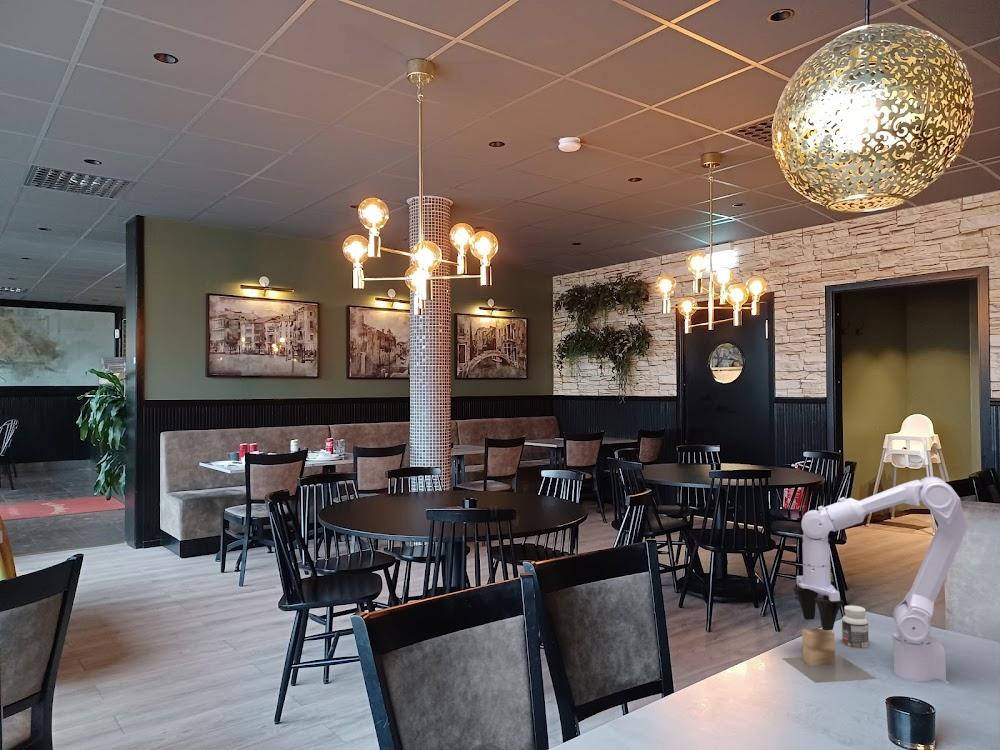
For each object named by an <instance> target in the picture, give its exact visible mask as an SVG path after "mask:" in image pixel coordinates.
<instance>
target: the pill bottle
mask: <svg viewBox="0 0 1000 750" xmlns="http://www.w3.org/2000/svg"><path fill="white" fill-rule="evenodd" d="M843 612H844V615H843V616H842V619H841V630H842V637H841V638H842V639H841V640H842V645H843V646H846V647H849V648H854V649H867V648H868V647H869V645H870V643H869V621H868V619H867V618H866V614H867V613H866V608H865V607H863V606H859V605H845V606H844V608H843Z"/></svg>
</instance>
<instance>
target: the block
mask: <svg viewBox="0 0 1000 750" xmlns="http://www.w3.org/2000/svg"><path fill="white" fill-rule="evenodd" d="M801 632H802V633H801V635H802V638H801V639H802V657H803V661H804V662H806V663H807V664H809V665H826V664H835V655H836V642H835V640H836V639H835V638H836V637H835V632H834V631H833V630H823V629H822V628H810V629H809V628H808V629H802V630H801Z"/></svg>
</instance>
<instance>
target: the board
mask: <svg viewBox="0 0 1000 750" xmlns="http://www.w3.org/2000/svg"><path fill="white" fill-rule="evenodd" d="M781 659H782V660H784V661H785V662H786V663H787V664H789V665H790V666H792V667H793V668H795V669H796V670H797V671H798V672H800V673H801V674H803V676H805V677H807V678H808V679H810V680H811V681H812V682H813V683H815V684H818V683H819V684H820V683H832V682H833V683H834V682H835V683H836V682H849V681H852V682H853V681H867V680H877V679H878V678H877V677H876V676H874V675H872V674H870V673H869V672H867V671H865V670H864V669H862V668H860V666H857V665H856V664H854V663H853V662H851V661H850V660H848V659H847V658H845V657H843V656H841V654H835V664H826V665H809V664H807V663H806V662H804V661H803V656H801V657H800V656H799V657H798V656H797V657H783V658H781Z"/></svg>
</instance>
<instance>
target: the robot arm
mask: <svg viewBox="0 0 1000 750" xmlns="http://www.w3.org/2000/svg"><path fill="white" fill-rule="evenodd" d="M920 502H922V503H923V504H924V506H925V507H926V508H927V509H928V510H929V511H931V512H930V513H931V514H932V516H933V517H934V519H935V522H936V523H937V527H936V530H935V533H934V535H933V537H932V539H931V541H930V544H929V546H928V548H927V551H926V553H925V555H924V558H923V560H922V561H921V565H920V567H919V570H918V572H917V575H916V576H915V579H914V581H913V582H912V585H911V587H910V590H909V591H908V592H907V593H906V595H905V596H904V598H903V600H902V601H901V602H900V603H898V604H897V605H895V607H894V609H893V612H892V613H893V614H892V617H893V620H894V622H895V625H896V629H895V631H893V633H892V646H893V647H892V648H893V649H892V651H893V652H892V653H893V673H894V675H895V676H897V677H900V678H902V679H905V680H907V681H915V682H929V681H933V680H934V681H935V680H941V681H942V682H945V683H946V684H948V685H949V684H950V683H949V682H948V681H947V670H946V669H947V667H946V665H947V664H946V658H947V657H946V651H945V648H944V646H943V644H942V643H941V641H940V640H939V639H937V637H932V636H931V632H932V628H931V621H932V617H933V615H934V607H935V603H936V600H937V598H938V595H939V593H940V591H941V588H942V586H943V584H944V581H945V579H946V576H947V575H948V573H949V570H950V568H951V565H952V564H953V560H955V559H954V558H955V557H956V554H957V552H958V549H959V547H960V545H961V543H962V540H963V538H964V536H965V534H966V532H967V528H968V525H967V521H966V517H965V515H964V510H963V506H962V501H961V498H960V496H959V495H958V493H957V492H956V491H955V490H954V489H953V487H952V486H951V485H950V484H948V483H946V482H945V481H944V480H943V479H942V478H940V477H937V476H926V477H923V478H922V479H920V480H919V479H915V480H911V481H907V482H904V483H902V484H898V485H897V486H893V487H891V488H889V489H885V490H884V491H881V492H879V493H875V494H873V495H871V496H868V497H866V498H863V499H860V500H857V499H854V498H852V497H848V498H845V496H843V497H840V498H838V502H834V503H832V504H829V505H826V506H823V505H820V506H818V507H817V509H818V510H815V509H811V510H808V511H807V512H805V514H804V515H803V516H802V519H801V529H802V531H803V534H802V540H803V541H802V548H801V549H802V575H796V585H798V586H796V587H795V586H794V587H793V591H794V593H795V595H796V597H797V599H798V602H799V605H800V608H801V612H802V615H803V618H804V620H806V621H807V620H814V619H815V616H816V606H817V608H818V611H819V616H820V625H821V629H823V630H831V631H833V630H834V627H835V622H836V620H837V619H836V618H837V615H838V612H839V610H840V609H841V607H842V606H843V604H844V600H843V599H841V598H840V597H841V595H840V591H838V590H837V589H836V588H835V587H834V586H833V584H832V582H831V581H832V578H831V576H832V575H831V550H830V544H829V534H830V532H837V531H841V530H843V529H846V528H849V527H852V526H854V525H857V524H861V523H863V522H864V520H865V517H866V516H867V515H868V514H872V513H875V512H879V511H881V510H886V509H888V508H892V507H895V506H898V505H902V504H907V505H911V506H916V507H920V506H921V504H920ZM818 595H821V596H822V597H818Z"/></svg>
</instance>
